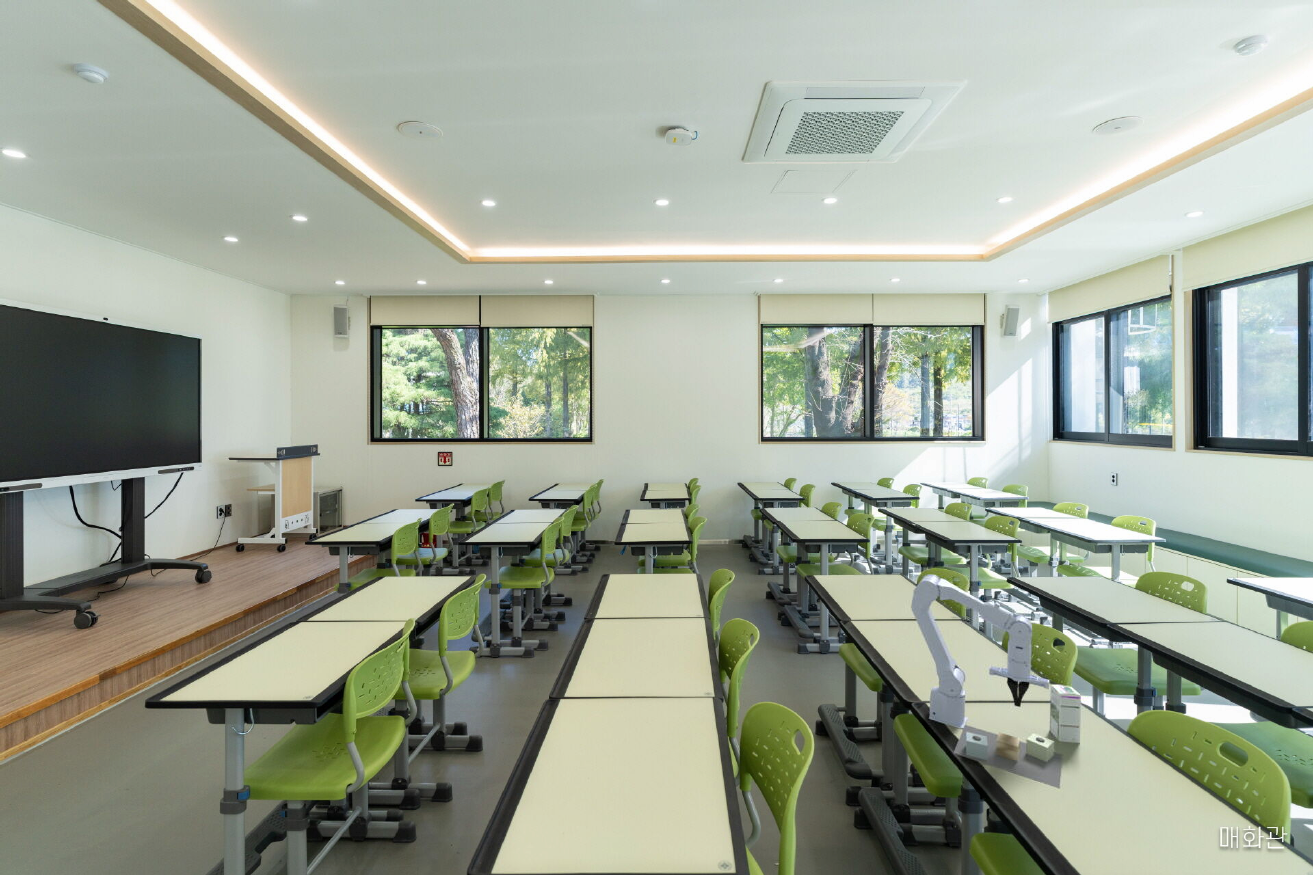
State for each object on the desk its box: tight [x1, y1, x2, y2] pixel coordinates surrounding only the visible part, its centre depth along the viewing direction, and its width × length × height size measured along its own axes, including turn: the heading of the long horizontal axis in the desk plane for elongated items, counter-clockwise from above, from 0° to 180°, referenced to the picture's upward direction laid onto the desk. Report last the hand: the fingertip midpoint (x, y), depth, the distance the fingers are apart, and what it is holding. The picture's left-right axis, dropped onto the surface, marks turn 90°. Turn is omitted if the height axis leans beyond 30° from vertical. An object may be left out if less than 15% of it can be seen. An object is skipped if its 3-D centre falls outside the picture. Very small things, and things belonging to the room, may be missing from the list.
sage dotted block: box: [1025, 733, 1055, 762], centre depth 157 cm, size 5×5×4 cm
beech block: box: [996, 732, 1021, 761], centre depth 157 cm, size 5×5×4 cm
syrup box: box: [1049, 684, 1082, 744], centre depth 165 cm, size 6×6×14 cm
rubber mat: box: [953, 724, 1063, 789], centre depth 157 cm, size 24×18×1 cm
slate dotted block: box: [966, 732, 988, 760], centre depth 157 cm, size 5×5×4 cm
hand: (1017, 704), depth 165 cm, fingers closed
